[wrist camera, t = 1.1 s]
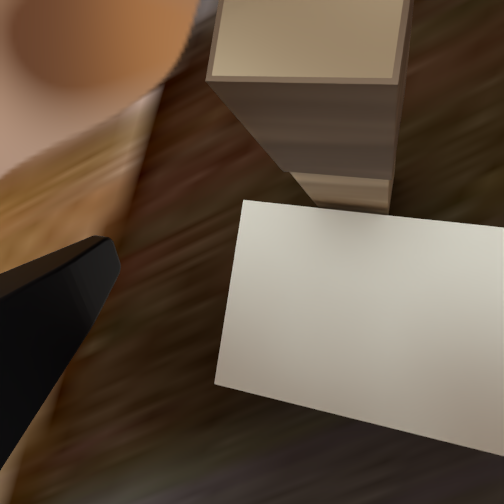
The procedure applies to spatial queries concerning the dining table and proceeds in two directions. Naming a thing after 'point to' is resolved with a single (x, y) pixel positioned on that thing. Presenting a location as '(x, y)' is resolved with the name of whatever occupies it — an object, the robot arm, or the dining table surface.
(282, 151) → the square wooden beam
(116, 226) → the dining table surface
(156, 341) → the dining table surface
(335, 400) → the cream rectangular box
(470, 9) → the dining table surface
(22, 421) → the robot arm
